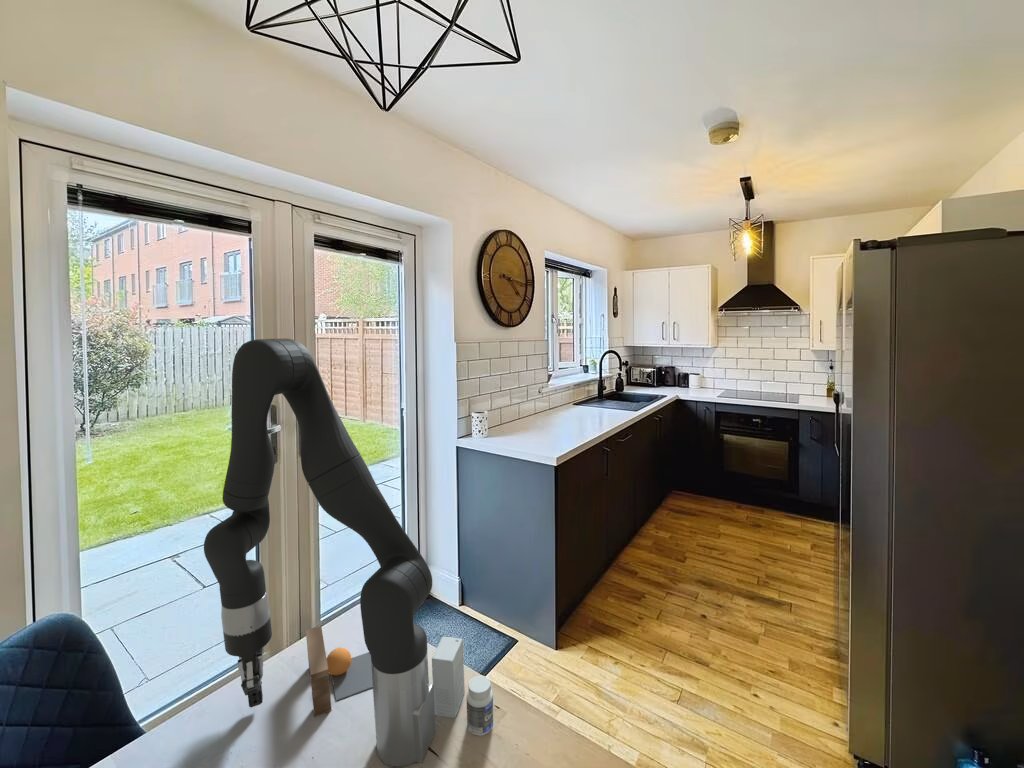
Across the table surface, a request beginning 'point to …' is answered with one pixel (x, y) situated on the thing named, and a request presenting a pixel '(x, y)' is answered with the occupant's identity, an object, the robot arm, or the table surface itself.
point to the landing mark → (354, 677)
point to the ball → (338, 661)
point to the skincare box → (448, 676)
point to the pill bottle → (479, 705)
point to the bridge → (318, 671)
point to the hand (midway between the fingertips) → (256, 702)
